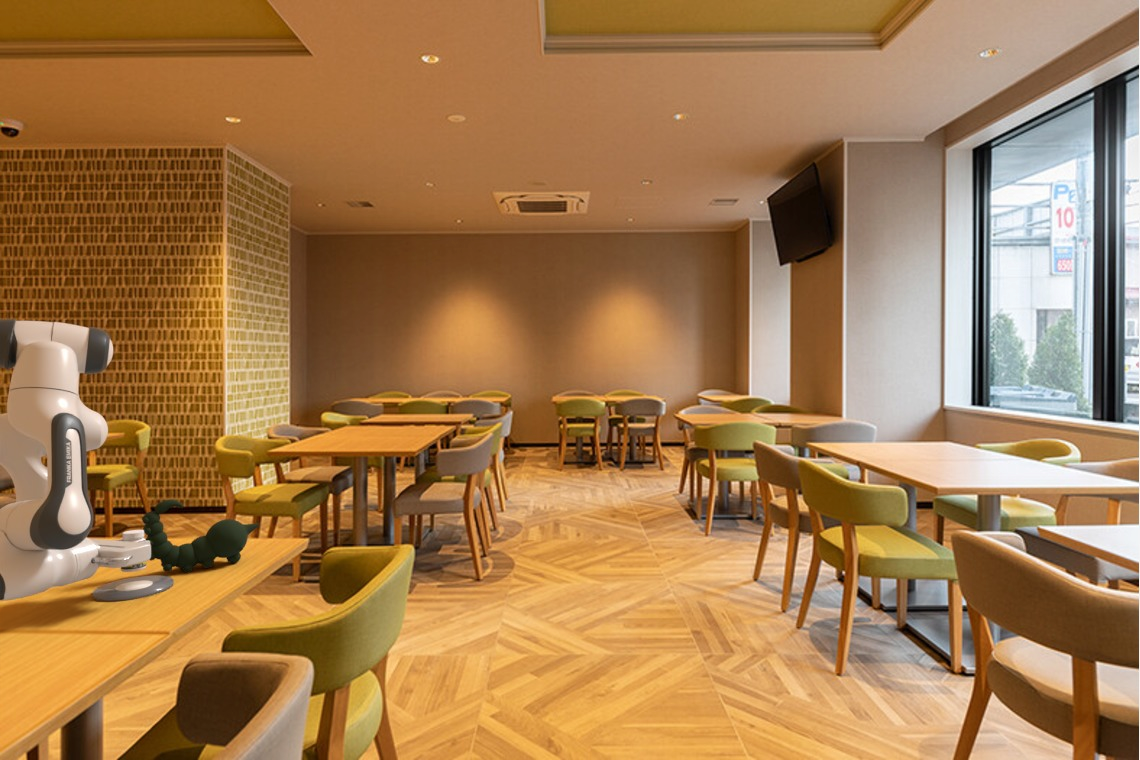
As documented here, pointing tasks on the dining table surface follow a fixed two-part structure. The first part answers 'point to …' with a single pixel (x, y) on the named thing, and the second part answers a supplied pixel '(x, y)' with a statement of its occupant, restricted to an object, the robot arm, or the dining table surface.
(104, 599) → the charcoal plate
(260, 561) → the dining table surface
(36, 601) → the dining table surface
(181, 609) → the dining table surface
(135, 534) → the supplement bottle
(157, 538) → the toy figurine
